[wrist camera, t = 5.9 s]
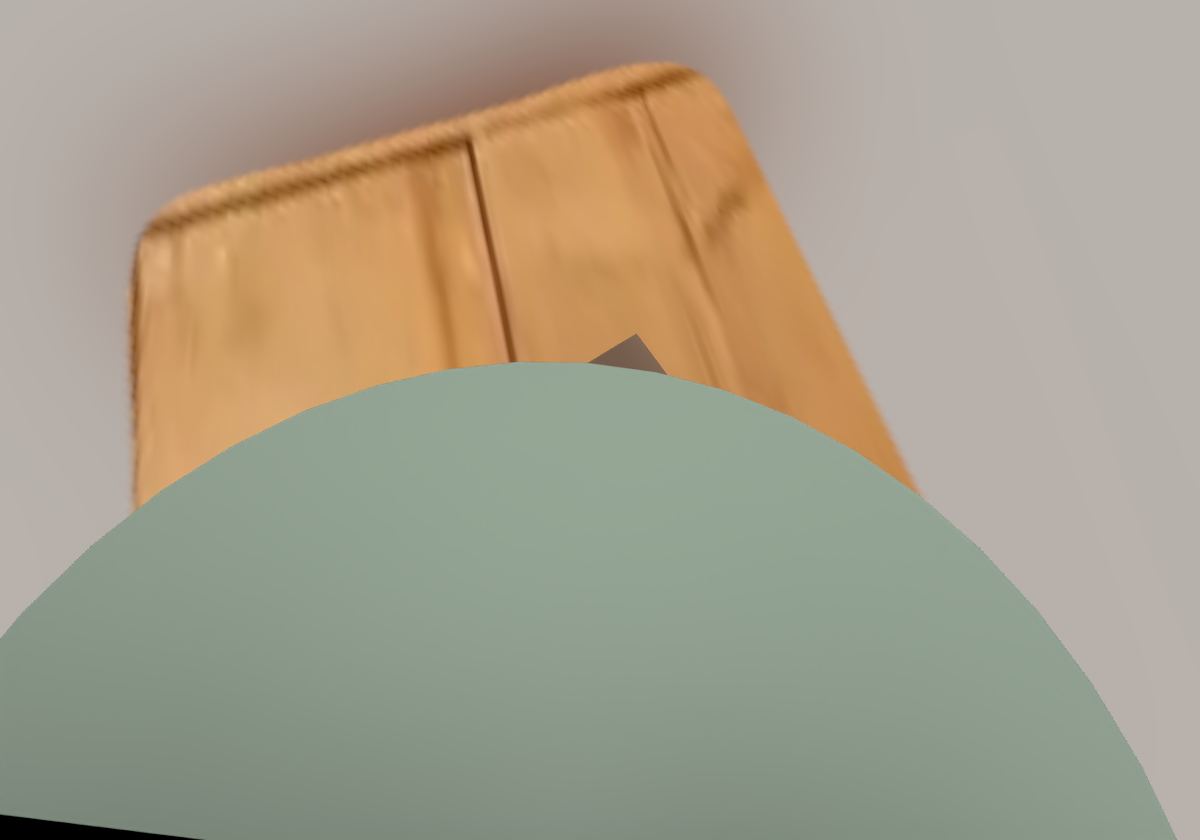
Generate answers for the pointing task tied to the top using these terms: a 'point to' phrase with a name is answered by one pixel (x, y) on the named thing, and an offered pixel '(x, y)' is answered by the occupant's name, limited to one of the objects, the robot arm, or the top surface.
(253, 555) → the peg
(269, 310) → the top surface
